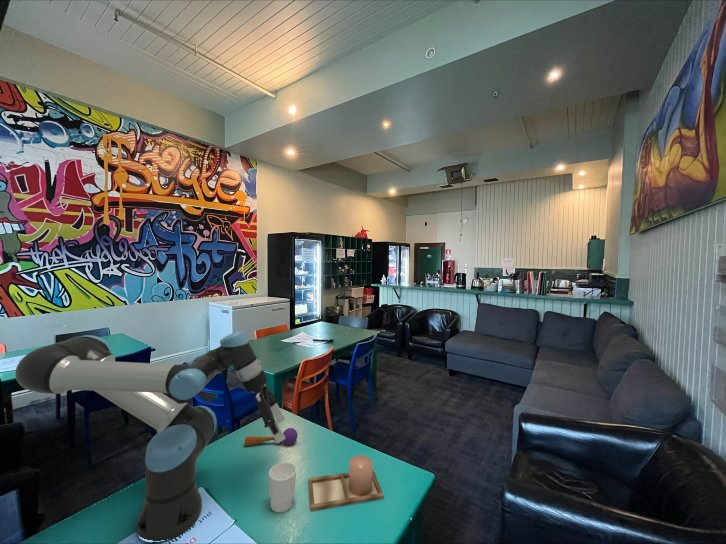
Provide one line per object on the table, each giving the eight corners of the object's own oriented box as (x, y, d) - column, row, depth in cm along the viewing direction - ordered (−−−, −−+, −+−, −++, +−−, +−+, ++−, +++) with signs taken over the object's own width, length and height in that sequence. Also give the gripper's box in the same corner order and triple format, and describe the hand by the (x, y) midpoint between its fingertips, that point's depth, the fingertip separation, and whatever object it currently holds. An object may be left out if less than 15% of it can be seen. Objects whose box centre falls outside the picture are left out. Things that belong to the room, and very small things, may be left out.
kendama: (247, 430, 119) (297, 425, 121) (248, 446, 118) (298, 440, 120) (243, 436, 113) (296, 430, 116) (243, 452, 112) (296, 446, 115)
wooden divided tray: (310, 515, 84) (310, 507, 84) (308, 484, 96) (308, 478, 96) (383, 502, 89) (383, 495, 89) (373, 475, 101) (373, 468, 101)
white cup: (279, 519, 82) (280, 484, 82) (262, 505, 87) (263, 472, 87) (301, 502, 89) (301, 469, 88) (284, 489, 93) (285, 458, 93)
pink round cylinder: (351, 498, 89) (351, 472, 89) (346, 480, 96) (347, 456, 96) (374, 494, 91) (375, 468, 91) (368, 477, 98) (369, 453, 98)
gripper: (260, 381, 86) (292, 443, 88) (265, 360, 110) (290, 408, 112) (235, 395, 84) (269, 458, 86) (245, 370, 108) (272, 419, 110)
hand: (281, 430), depth 99 cm, fingers open, 13 cm apart
